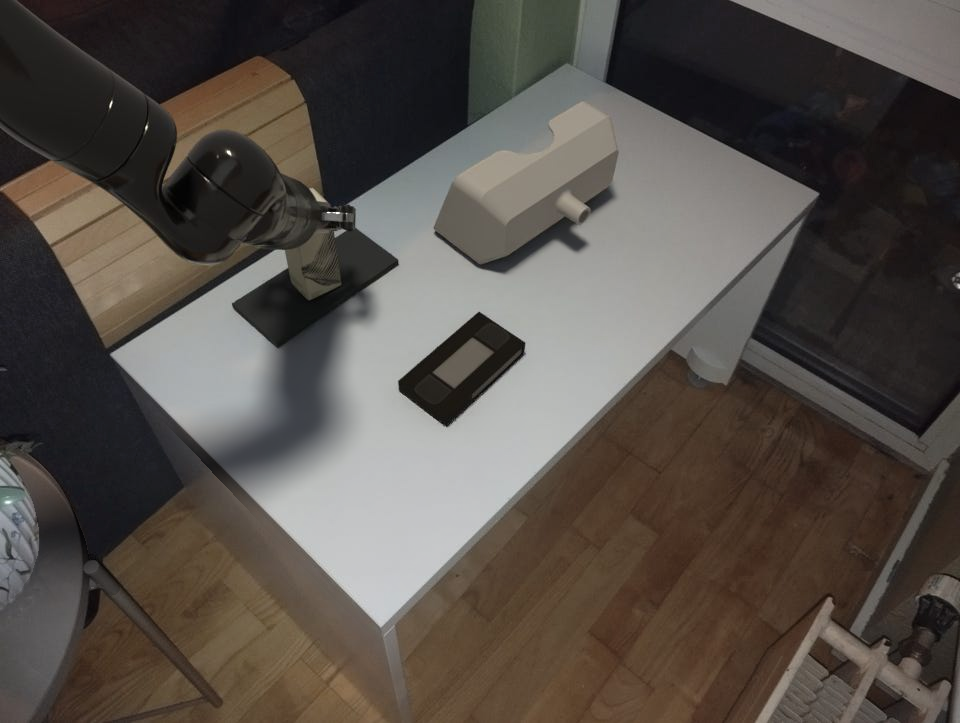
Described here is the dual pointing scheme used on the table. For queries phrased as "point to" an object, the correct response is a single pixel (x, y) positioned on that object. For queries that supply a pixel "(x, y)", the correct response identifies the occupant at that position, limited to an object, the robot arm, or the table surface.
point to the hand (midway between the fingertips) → (309, 219)
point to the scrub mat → (290, 313)
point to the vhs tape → (461, 368)
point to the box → (315, 263)
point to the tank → (530, 187)
